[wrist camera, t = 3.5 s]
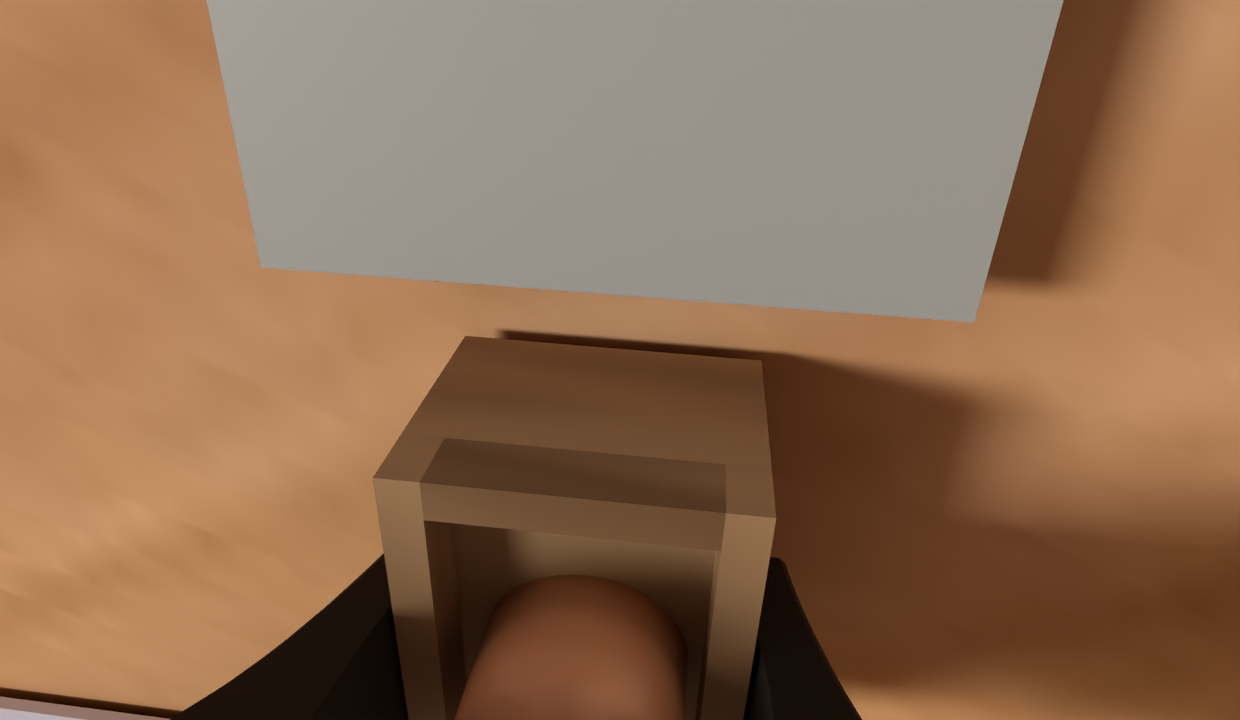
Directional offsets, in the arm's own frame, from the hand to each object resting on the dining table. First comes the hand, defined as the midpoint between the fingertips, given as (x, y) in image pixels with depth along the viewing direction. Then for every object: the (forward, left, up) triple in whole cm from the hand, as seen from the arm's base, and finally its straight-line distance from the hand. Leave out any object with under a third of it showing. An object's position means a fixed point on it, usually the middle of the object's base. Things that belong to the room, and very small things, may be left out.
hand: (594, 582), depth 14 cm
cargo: (0, 0, +1) cm, 2 cm away
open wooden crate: (0, 0, -2) cm, 2 cm away
